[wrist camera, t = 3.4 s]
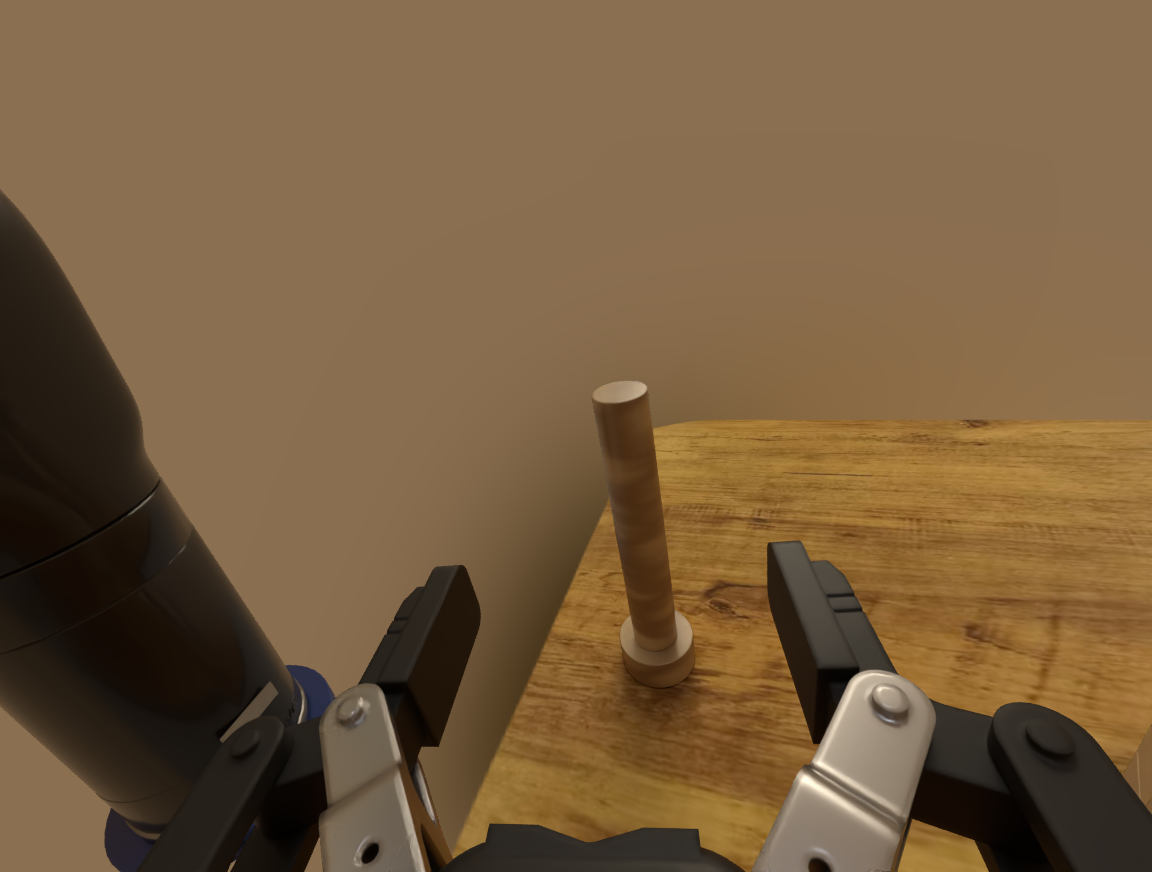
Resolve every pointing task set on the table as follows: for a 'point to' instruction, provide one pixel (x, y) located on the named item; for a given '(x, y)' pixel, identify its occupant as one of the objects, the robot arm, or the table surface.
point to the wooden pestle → (641, 538)
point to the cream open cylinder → (1142, 771)
